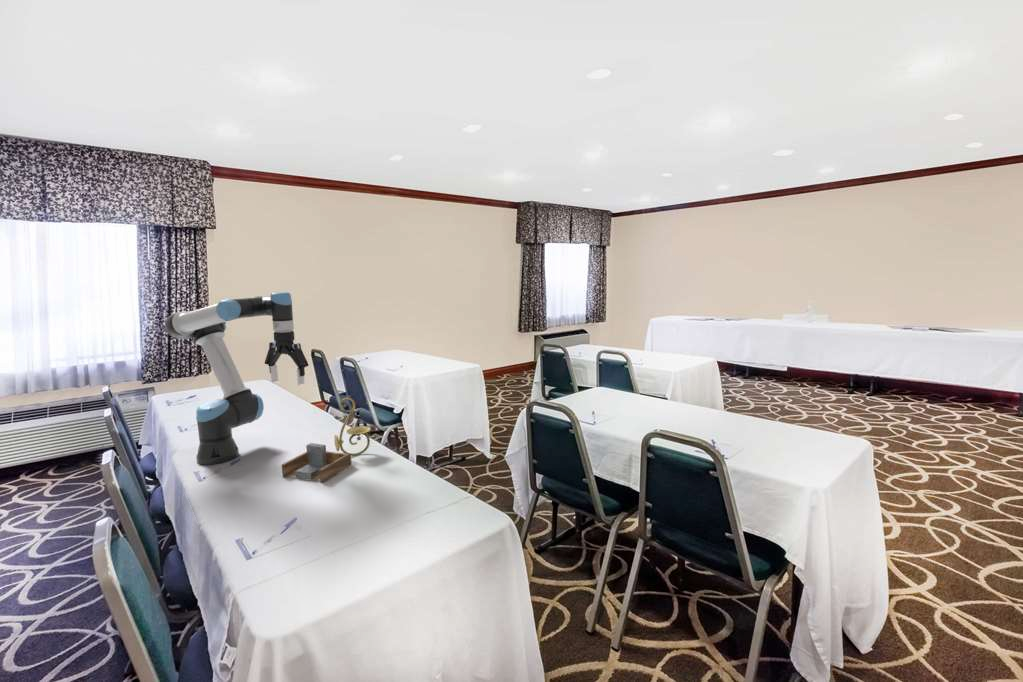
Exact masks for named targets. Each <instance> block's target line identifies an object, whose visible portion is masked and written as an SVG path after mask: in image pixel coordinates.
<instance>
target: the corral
mask: <svg viewBox="0 0 1023 682" xmlns="http://www.w3.org/2000/svg"><path fill="white" fill-rule="evenodd" d="M350 453H351V452H348V454H345V453H343V452H338V451H336V452H335V451H328V450H326V455H327V466H325V467H323V468H321V469H320V470H319V471H320V475H318V476H316V477H315V478H313V479H305V478H298V477H296V472H295V471H296V470H298V469H300V468H302V467H304V466H306V465H308V459H307V451H305V452H303V453H301V454H299V455H297V456H295V457H294V458H291V459H289V460H288V461H285V462H283V463H282V464H281V471H282V478H292V479H299V480H304V481H305V480H306V481H313V482H320V483H319V484H325V483H326V482H327V481H329V480H331V479H333V478H334V477H336V476H337V475H339V474H340V473H342V472H344V471H346V470H347V469H349V468H350V467H352V456H351V454H350Z"/></svg>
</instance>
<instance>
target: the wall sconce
mask: <svg viewBox="0 0 1023 682" xmlns="http://www.w3.org/2000/svg"><path fill="white" fill-rule="evenodd" d="M345 401H350V402H351V403H352V409H351V411H350V413H349V414H348V416H347V417H346V418H345V421H344V422H343V424H342V426H341V429H340V432H339V433H340V434H339V435H338V434H335V435H334V437H333V438H334V446H335V450H336V452H339V451H340V450H341V453H345V454H348V453H350V454H351V457H353V456H355V457H356V456H359V455H362V454H363V453H365V452H366V451H367V450H368V449H369V447H370V444H371V443H370V441H371V440H370V439H371V438H370V436H369V435H368V432H370V431H371V427H370V426H365V425H361V426H360V425H359V426H354V427H351V428H348V429H346V431H345V432H346V433H347V434H349V435H350V437H349V439H348V442H349V444H350V445H351V446H355V445H357V444H358V441H361V439H362V437H361V435H364V436H365V437H366V441H367V442H366V445H365V448H364V449H362V450H360V451H359V452H356V453H355V452H354V453H351V452H347V450H345V449H344V447H343V444H344V440H343V439H342V438H343V435H344V434H343V433H344V429H345V427H346V425H347V423H348V422H349V420H350V418H351V417H352V415H353V414H354V412H355V410H356V403H355V401H354V399H352V398H351V397H344V398H342V399H341V400H340V401H339V407H340V408H343V409H344V408H346V407H347V404H342V403H343V402H345ZM356 436H357V437H356ZM354 437H356V439H357V442H356V441H354V442H353V441H352V439H353V438H354Z"/></svg>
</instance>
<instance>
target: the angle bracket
mask: <svg viewBox="0 0 1023 682" xmlns="http://www.w3.org/2000/svg"><path fill="white" fill-rule="evenodd" d="M305 447H306V452H307V459H308V465H306V466H304V467H302V468H300V469H298V470H296V471H295V472H296V477H298V478H305V479H313V478H315V477H316V476H318V475H320V471H319V470H320V469H321V468H323V467H325V466H327V455H326V451H327V446H326V444H322V443H321V444H320V443H308V444H306V445H305ZM298 478H297V479H298ZM305 479H304V480H305Z"/></svg>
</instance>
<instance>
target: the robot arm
mask: <svg viewBox="0 0 1023 682" xmlns="http://www.w3.org/2000/svg"><path fill="white" fill-rule="evenodd" d="M293 313H294V312H293V300H292V294H291V293H290V292H288V291H283V292H282V291H277V292H271V293H270V296H252V297H246V298H228V299H223V300H220V301H218V303H215V304H213V305H209V306H206V307H203V308H198V309H195V310H187V311H186V310H185V311H178V312H174V313H171V314H170V315H168V317H167V318H166V319H165V322H164V328H165V331H166V332H167V334H168V335H169V336H171V337H173V338H175V339H179V340H189V339H193V340H194V342H195V344H196V345H198V346H200V347H201V348H202V350H203V352H204V354H205V356H206V358H207V361H208V363H209V365H210V367H211V369H212V372H213V374H214V376H215V379H216V381H217V383H218V384H219V385H218V386H219V388H220V390H221V391H222V393H223V397H222V399H221V398H220V399H215V400H209V401H207V402H203V403H202V404H200V405H199V406H198V407H197V409H196V411H195V412H196V414H195V415H196V417H195V419H196V422H197V431H198V439H199V445H198V450H197V454H196V463H197V464H199V465H216V464H217V465H218V464H222V463H226V462H229V461H231V460H234V459H235V458H237V457H239V455H240V451H239V447H238V446H237V443H236V442H235V439H234V438H233V431H232V429H234V428H235V429H236V428H237V427H241V426H243V425H247V424H251V423H253V422H254V421H257V420H259V419H260V418H261V417H262V415H263V413H264V401H263V399H262V397H261V396H260V395H259V394H257V393H253V392H252V390H251V389H250V388H248V387H246V386H245V384H244V381H243V380H242V378H241V376H240V373H239V370H238V369H237V366H236V364H235V362H234V360H233V358H232V355H231V353H230V351H229V349H228V347H227V345H226V343H225V340H224V336H225V335H226V334H225V331H226V329H227V326H226V325H227V322H230V321H234V320H238V319H245V318H254V317H262V316H269V317H270V316H272V320H271V321H272V327H273V328H272V329H273V331H274V332H273V340H274V341H271V342H269V345H268V350H267V353H266V357H265V360H264V364H265V365H268V366H269V367H268V368H269V373H270V378H271V379H270V380H271V383H274V382H278V381H279V378H278V366H277V364H276V363H277V362H278V360H279V359H280V357H281V355H288V356H289V357H290V359H292V361H293V363H294V364H295V365H296V367H297V368H296V373H297V374H296V376H297V378H296V379H297V385H298V386H301V385H303V384H305V375H306V373H305V368H306V367H309V363H308V361H307V358H306V356H305V354H304V352H303V349H302V346H301V343H299V342H298V343H294V341H295V331H294V327H295V326H294V317H293V316H294V314H293Z"/></svg>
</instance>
